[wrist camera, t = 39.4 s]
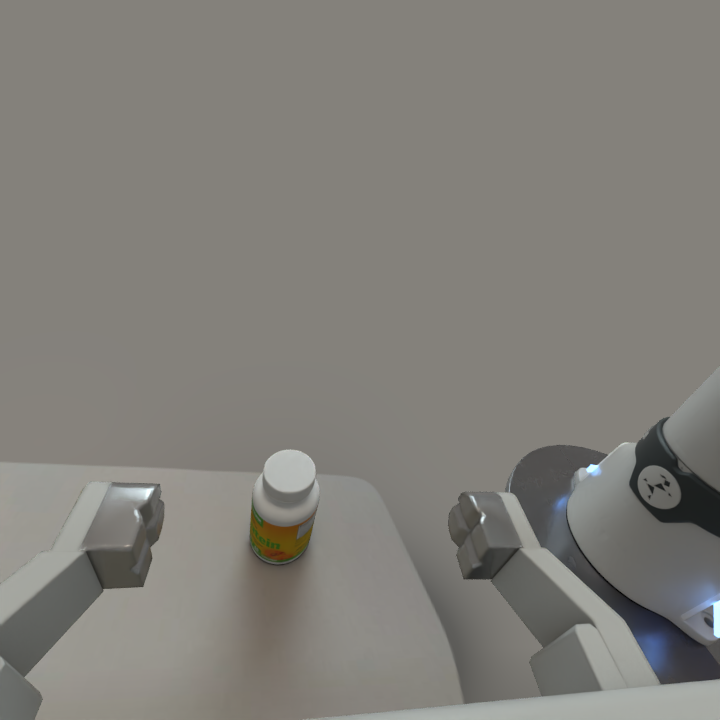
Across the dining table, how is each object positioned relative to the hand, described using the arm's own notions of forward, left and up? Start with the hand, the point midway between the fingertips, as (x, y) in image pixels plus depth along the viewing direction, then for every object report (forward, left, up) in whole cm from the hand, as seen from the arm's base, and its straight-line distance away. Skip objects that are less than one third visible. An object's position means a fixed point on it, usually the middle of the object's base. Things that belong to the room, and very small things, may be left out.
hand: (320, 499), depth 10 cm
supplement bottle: (-1, -12, -25) cm, 28 cm away
